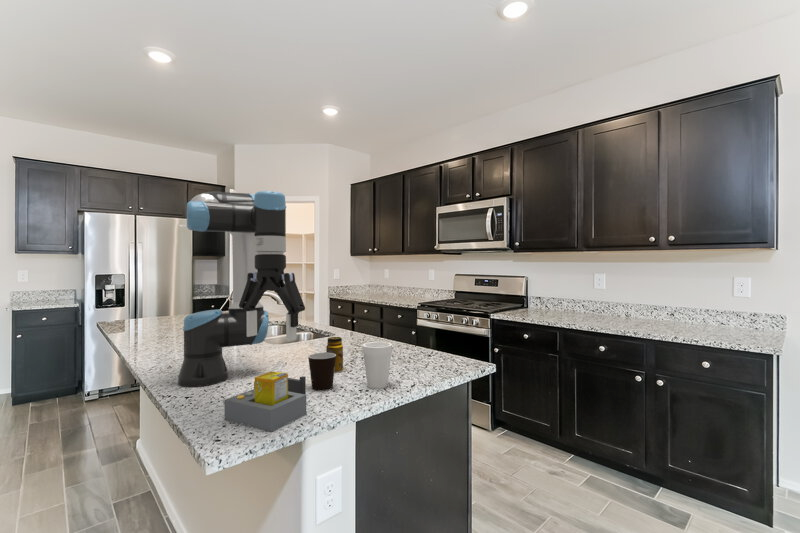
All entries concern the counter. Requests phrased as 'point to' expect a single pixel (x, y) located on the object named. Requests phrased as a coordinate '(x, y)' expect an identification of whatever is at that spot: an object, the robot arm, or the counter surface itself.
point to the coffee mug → (322, 370)
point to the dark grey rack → (296, 385)
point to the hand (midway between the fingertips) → (271, 338)
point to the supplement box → (271, 388)
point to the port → (264, 410)
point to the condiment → (336, 352)
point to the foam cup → (377, 363)
